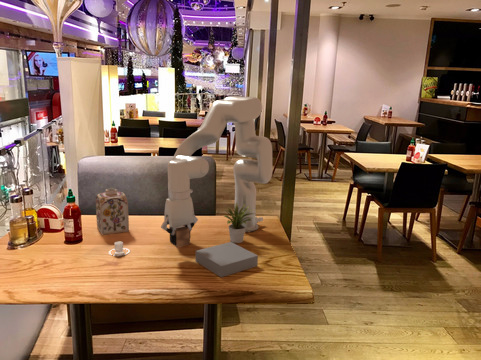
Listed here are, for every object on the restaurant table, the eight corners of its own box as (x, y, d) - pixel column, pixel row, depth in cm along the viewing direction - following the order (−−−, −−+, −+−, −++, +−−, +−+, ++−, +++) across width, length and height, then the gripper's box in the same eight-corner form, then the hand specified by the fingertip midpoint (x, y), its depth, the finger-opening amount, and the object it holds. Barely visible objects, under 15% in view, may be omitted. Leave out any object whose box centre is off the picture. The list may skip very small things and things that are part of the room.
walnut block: (182, 240, 152) (182, 224, 151) (189, 244, 148) (189, 228, 147) (171, 243, 149) (170, 227, 148) (177, 247, 145) (177, 231, 144)
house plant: (240, 251, 158) (241, 210, 155) (212, 243, 166) (212, 204, 162) (259, 240, 170) (260, 203, 166) (232, 233, 177) (233, 197, 174)
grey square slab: (230, 251, 158) (230, 241, 157) (257, 266, 145) (257, 255, 144) (195, 261, 148) (195, 250, 147) (220, 277, 136) (221, 266, 135)
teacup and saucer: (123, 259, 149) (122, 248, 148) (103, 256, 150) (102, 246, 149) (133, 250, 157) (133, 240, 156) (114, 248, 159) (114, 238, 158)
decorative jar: (96, 227, 180) (94, 187, 177) (123, 223, 186) (121, 185, 182) (101, 235, 170) (99, 194, 166) (129, 231, 176) (128, 191, 172)
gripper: (194, 188, 152) (194, 234, 157) (152, 196, 142) (154, 244, 146) (205, 193, 146) (205, 240, 151) (162, 201, 136) (164, 251, 141)
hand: (180, 241), depth 149 cm, fingers closed on walnut block, 5 cm apart
